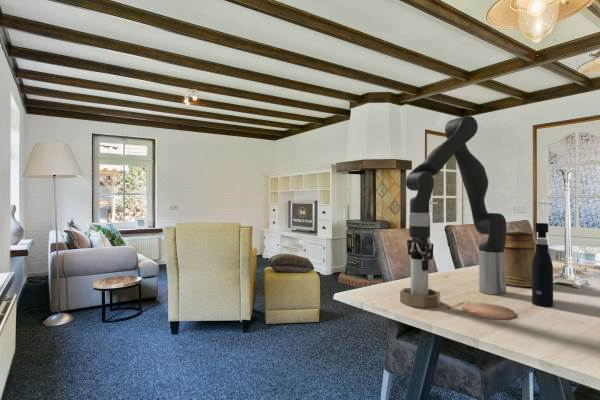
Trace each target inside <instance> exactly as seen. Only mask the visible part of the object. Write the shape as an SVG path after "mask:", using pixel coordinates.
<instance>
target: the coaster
mask: <svg viewBox="0 0 600 400" xmlns="http://www.w3.org/2000/svg"><path fill="white" fill-rule="evenodd" d="M461 308H462V310H461V311H463V312H464V313H466V314H468V315H469V316H470V315H471V316H474V317H478V318H482V319H488V320H489V319H490V320H499V321H500V320H510V319H513V318H515V317H516V312H515V311H514V310H513V309H511V308H509V307H505V306H501V305H499V304H492V303H486V302H485V303H484V302H483V303H482V302H470V303H469V302H468V303H465V304H462V306H461Z"/></svg>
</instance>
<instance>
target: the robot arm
mask: <svg viewBox="0 0 600 400" xmlns="http://www.w3.org/2000/svg"><path fill="white" fill-rule="evenodd" d="M478 125H479V124H478V122H477V120H476V118H474V117H473V116H471V115H464V116H460V117H458V118H457V117H456V118H454V119H450V120H448V121H447V122H446V123H445V126H444V132H445V137H446V140H445V141H443V142H442V143H441V144H439V145H438V146H437V147H435V148H434V149H433V150H432V151H431V152H430V153H429V154H428V156H427V157H426V158H425V159H424V160H423V162H421V163H420V164H419V165H418V166H416V167H415V168H413V170H412V171H410V172H409V173H408V175H407V176H406V179H405V186H406V188H407V189H408V190H409V191H415V192H416V195H415V196H413V197H411V198H410V200H409V219H408V227H409V228H408V232H409V233H408V237H409V238H411V239H407V241H406V244H407V245H406V247H407V256H409V257H410V258H411V251H412V252H413V251H418V252H420V255H421V257H422V260H423V261H422V270H423V271H428V272H429V265H430V263H429V261H430V260H433V257H434V243H433V242H432V243H431V242H429V238H430V237H431V215H430V202H431V198H432V194H433V190H434V185H435V180H434V176H436V175H437V174H439V173H440V171H441V170H442V169H444V166H445V165H446V164H447V162H449V160H450V159H451V158H452V157H453V156H454V158H455V160H456V163H457V167H458V169H459V172H460V177H461V180H462V184H463V185H464V189H465V192H466V195H467V199H468V202H469V206H470V211H471V215H472V221H473V225H474V228H475V230H476V231H477V232H478V233H479V234H481V235H488V239H487V240H486V241H484V242H481V243H479V245H478V286H479V287H478V288H479V289H478V291H479V292H480V293H482V294H483V293H484V294H487V295H488V294H489V295H496V296H497V295H503V294H504V295H505V294H506V293H507V284H506V270H504V247H505V244H506V231H507V220H506V218H505V216H504V215H503V214H501V213H499V212H498V213H497V212H488V210H487V207H486V203H485V197H486V194H487V192H488V187H489V179H488V174H487V172H486V168H485V166H484V165H483V163H482V162H480V160H479V159H478V158H477V157H476V156H475V155H474V154H473V153H471V151H470V150H469V148H468V146H467V143H468V142H469V141H470V140H471V139H472V138H473V137H475V136H476V134H477V132H478V129H479V127H478ZM424 251H425V252H424ZM424 254H425V257H424Z"/></svg>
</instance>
